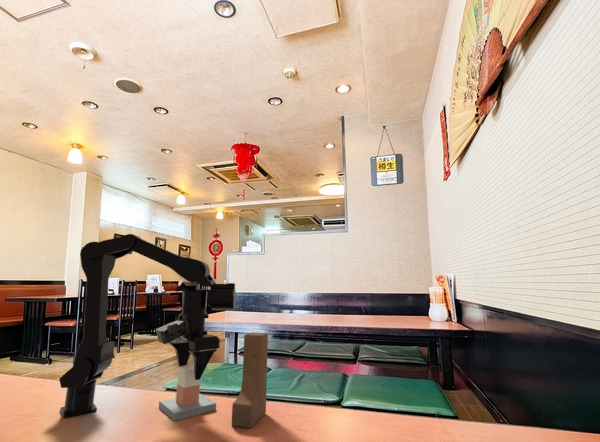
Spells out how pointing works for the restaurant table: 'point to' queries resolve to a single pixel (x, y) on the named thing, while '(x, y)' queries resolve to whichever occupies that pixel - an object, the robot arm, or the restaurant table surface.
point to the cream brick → (187, 376)
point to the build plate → (186, 408)
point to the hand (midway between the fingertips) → (189, 375)
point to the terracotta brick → (187, 395)
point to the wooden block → (252, 382)
